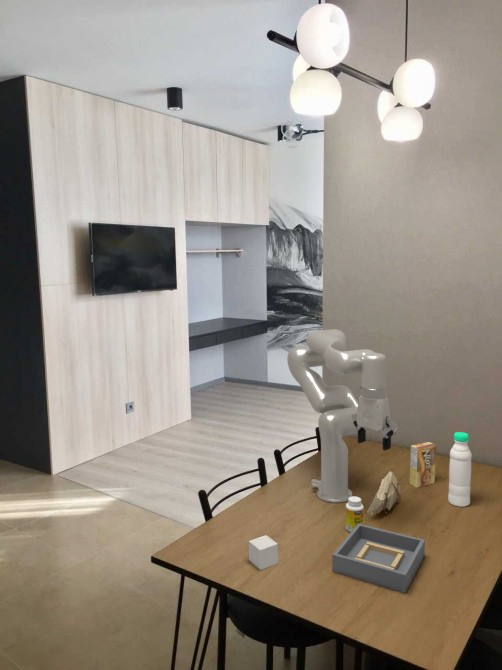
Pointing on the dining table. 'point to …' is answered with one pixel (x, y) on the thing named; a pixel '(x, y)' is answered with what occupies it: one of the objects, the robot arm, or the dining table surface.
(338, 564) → the walled box
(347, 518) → the supplement bottle
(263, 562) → the white cube
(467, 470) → the water bottle
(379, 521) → the dining table surface
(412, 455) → the candy box
